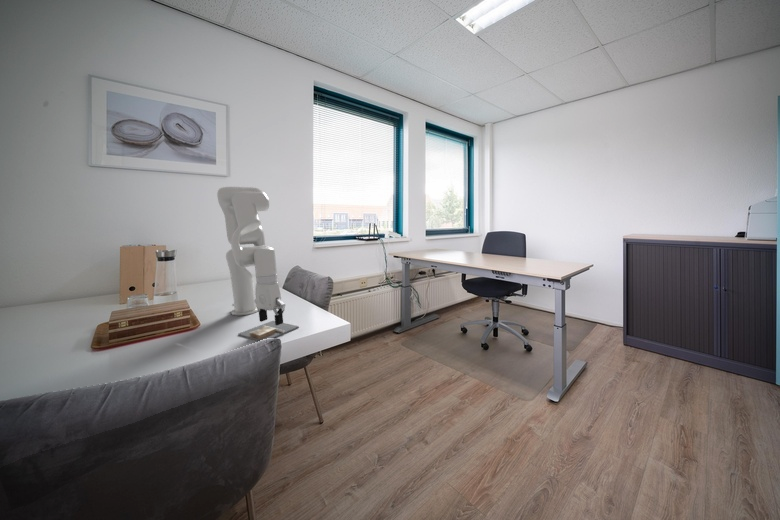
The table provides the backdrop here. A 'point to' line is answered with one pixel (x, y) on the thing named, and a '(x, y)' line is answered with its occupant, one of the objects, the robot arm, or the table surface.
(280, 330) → the mat
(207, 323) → the table surface
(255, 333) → the tile
